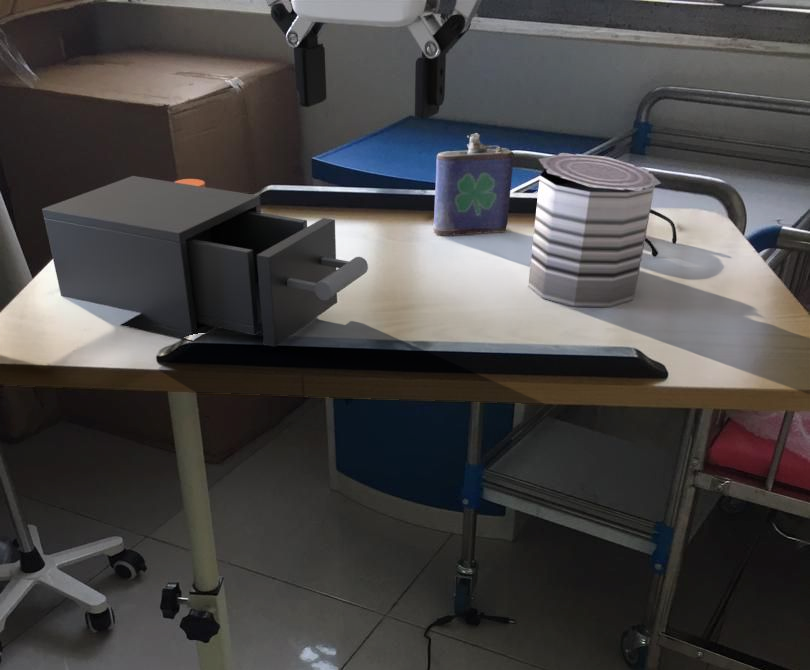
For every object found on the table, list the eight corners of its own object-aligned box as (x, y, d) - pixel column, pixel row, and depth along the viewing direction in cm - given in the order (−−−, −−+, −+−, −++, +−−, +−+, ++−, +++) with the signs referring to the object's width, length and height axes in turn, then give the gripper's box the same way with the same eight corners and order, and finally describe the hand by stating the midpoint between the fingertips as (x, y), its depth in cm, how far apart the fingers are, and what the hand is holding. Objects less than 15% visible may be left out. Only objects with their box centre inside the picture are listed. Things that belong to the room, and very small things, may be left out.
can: (558, 260, 98) (573, 145, 91) (655, 284, 93) (679, 163, 86) (506, 290, 91) (518, 166, 84) (608, 317, 85) (630, 188, 78)
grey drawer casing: (267, 295, 88) (260, 195, 83) (193, 341, 79) (179, 233, 73) (147, 271, 93) (132, 175, 87) (64, 312, 84) (41, 208, 78)
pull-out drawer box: (378, 310, 83) (379, 226, 79) (320, 357, 75) (317, 266, 70) (218, 279, 89) (209, 199, 84) (147, 319, 81) (133, 232, 76)
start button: (194, 204, 100) (192, 188, 99) (168, 200, 101) (166, 184, 100) (212, 196, 103) (211, 181, 102) (187, 192, 104) (185, 177, 103)
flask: (436, 237, 104) (440, 139, 98) (429, 229, 106) (433, 133, 100) (510, 232, 106) (519, 136, 100) (501, 225, 108) (510, 130, 102)
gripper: (220, -181, 57) (245, 108, 68) (469, -184, 52) (456, 131, 62) (279, -174, 63) (294, 91, 73) (510, -177, 57) (492, 111, 68)
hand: (369, 109), depth 68 cm, fingers open, 9 cm apart
